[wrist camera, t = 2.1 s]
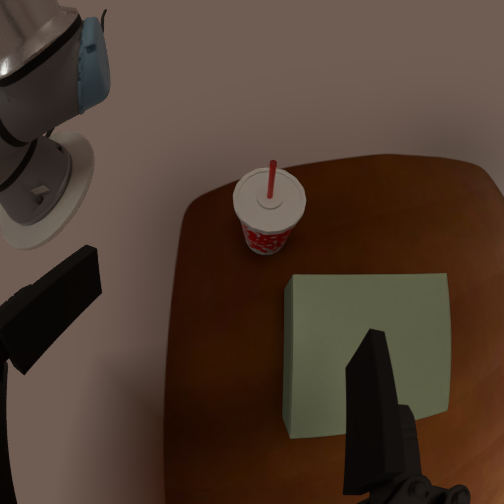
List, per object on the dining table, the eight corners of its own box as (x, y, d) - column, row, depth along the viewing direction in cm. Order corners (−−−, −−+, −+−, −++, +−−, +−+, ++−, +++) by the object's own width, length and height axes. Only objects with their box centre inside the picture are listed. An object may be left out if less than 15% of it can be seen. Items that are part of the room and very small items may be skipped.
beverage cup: (231, 219, 32) (218, 141, 19) (281, 204, 33) (297, 123, 20) (247, 269, 31) (243, 214, 17) (300, 252, 31) (332, 189, 18)
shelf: (284, 288, 30) (292, 274, 23) (413, 286, 30) (446, 273, 23) (282, 417, 26) (290, 438, 19) (414, 400, 26) (447, 410, 19)
